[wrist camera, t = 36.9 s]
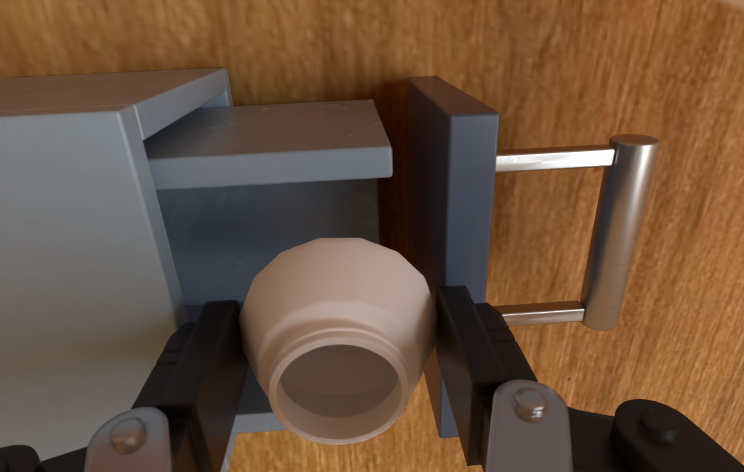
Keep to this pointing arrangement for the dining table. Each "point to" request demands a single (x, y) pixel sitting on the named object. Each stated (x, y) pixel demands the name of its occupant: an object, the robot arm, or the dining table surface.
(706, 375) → the dining table surface
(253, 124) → the compartment
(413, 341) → the white jar
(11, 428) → the drawer unit
